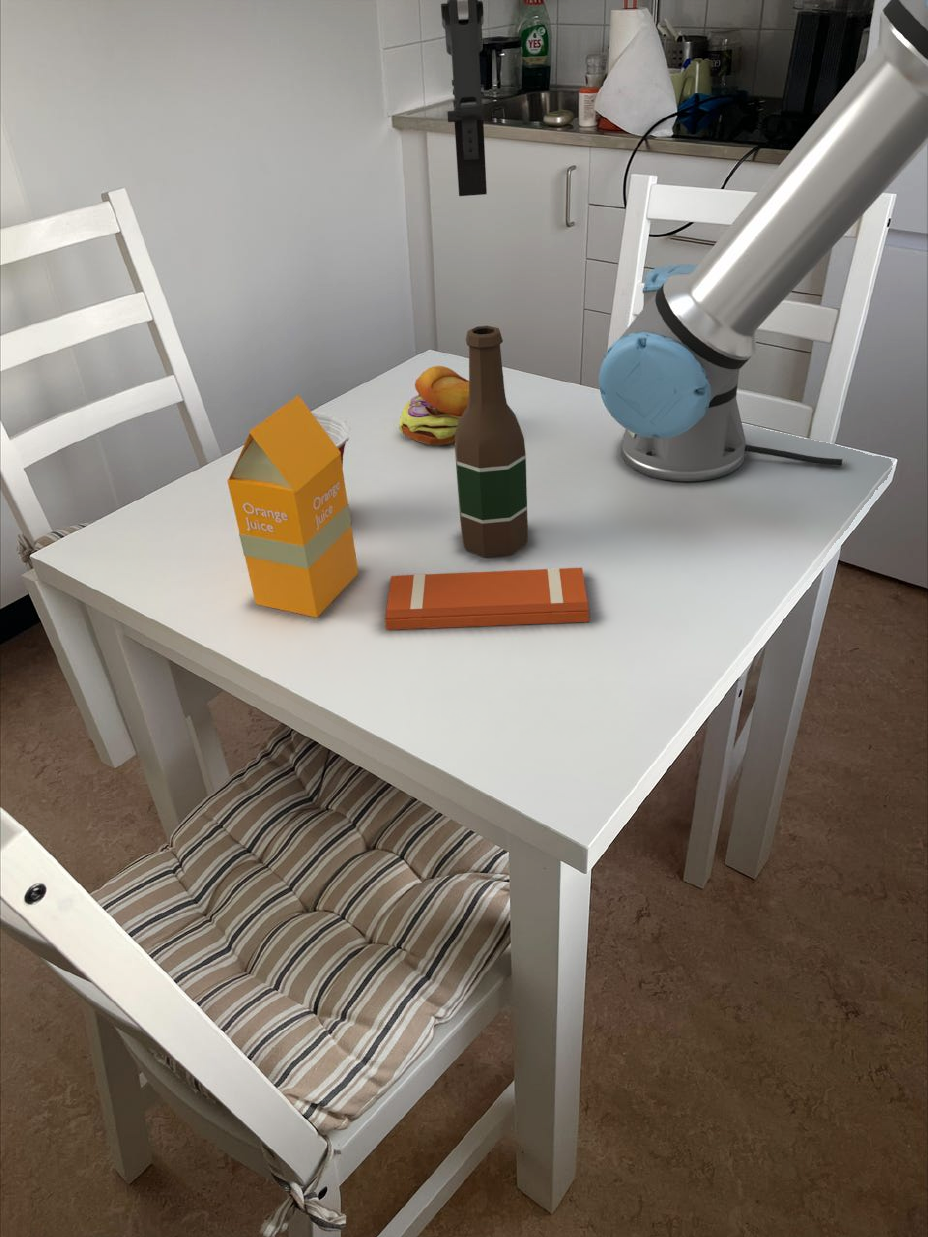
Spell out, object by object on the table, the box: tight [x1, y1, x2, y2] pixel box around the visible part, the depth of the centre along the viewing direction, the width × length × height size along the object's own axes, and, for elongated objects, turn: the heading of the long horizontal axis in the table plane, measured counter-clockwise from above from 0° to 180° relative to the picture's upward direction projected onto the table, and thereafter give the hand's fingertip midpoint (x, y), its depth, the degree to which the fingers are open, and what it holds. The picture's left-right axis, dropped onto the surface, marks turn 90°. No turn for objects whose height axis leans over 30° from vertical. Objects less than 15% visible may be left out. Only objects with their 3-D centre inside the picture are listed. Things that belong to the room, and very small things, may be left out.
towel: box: [384, 567, 590, 631], centre depth 96 cm, size 20×8×1 cm, turn 89°
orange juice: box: [226, 395, 359, 618], centre depth 95 cm, size 8×9×20 cm
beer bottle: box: [454, 325, 529, 559], centre depth 99 cm, size 8×8×24 cm
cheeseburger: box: [398, 365, 469, 446], centre depth 128 cm, size 10×11×10 cm
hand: (471, 180), depth 98 cm, fingers open, 13 cm apart
